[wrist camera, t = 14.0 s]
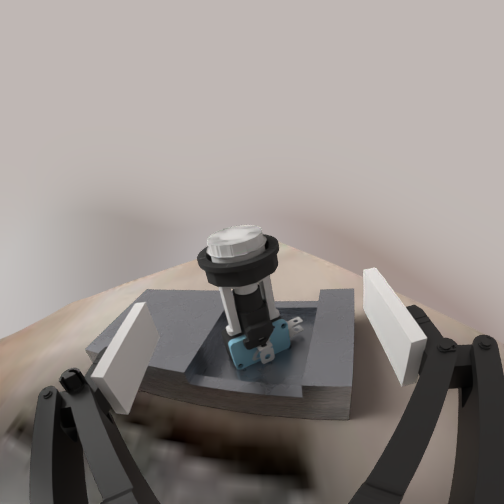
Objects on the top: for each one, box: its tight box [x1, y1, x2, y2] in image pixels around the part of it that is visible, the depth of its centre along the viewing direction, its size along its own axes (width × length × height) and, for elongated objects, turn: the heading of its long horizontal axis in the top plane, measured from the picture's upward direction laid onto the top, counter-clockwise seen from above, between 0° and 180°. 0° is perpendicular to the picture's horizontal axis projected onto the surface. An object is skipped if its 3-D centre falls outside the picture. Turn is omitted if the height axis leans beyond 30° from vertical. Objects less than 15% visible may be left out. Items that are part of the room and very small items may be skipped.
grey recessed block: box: [85, 289, 354, 420], centre depth 24 cm, size 22×11×4 cm, turn 73°
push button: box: [197, 225, 304, 370], centre depth 21 cm, size 7×5×10 cm
